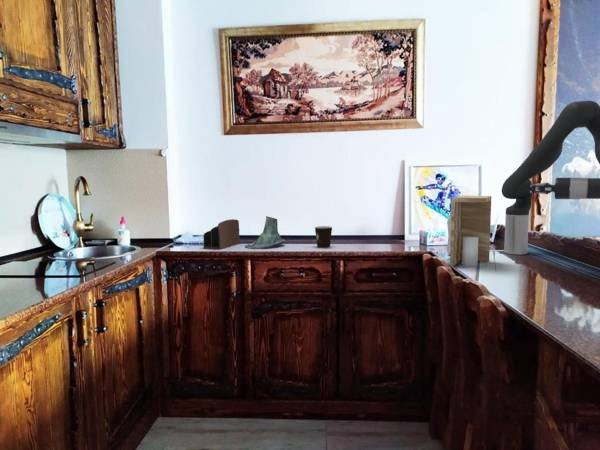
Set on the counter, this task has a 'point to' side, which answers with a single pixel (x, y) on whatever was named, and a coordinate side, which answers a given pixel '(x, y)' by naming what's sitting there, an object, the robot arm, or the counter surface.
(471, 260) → the white upright cylinder
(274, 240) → the tree stump
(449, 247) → the plastic bottle
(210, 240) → the letter holder
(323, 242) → the coffee mug
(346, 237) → the counter surface
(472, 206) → the cubby
